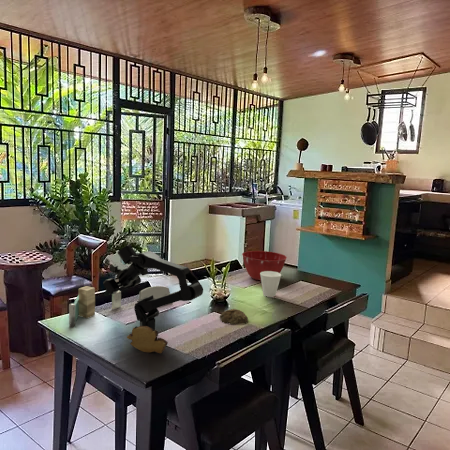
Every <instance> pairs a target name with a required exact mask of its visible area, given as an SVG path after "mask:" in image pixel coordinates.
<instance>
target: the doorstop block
mask: <svg viewBox="0 0 450 450" xmlns="http://www.w3.org/2000/svg"><path fill="white" fill-rule="evenodd" d="M78 295H79V316H78V317H80V318H85V319H89V318H91V317H93V316H95V315H96V288H95V287H93V286H89V285H86V286H83V287H80V288H78Z"/></svg>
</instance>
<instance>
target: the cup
mask: <svg viewBox="0 0 450 450" xmlns="http://www.w3.org/2000/svg"><path fill="white" fill-rule="evenodd" d="M260 276H261V281H260V282H261V289H262V294H263V297H266V296H267V298H274V297H273V296H275V297H276V294H277V291H278V288H279V284H280V281H281V277H282V274H281V272H280V273H278V272H273V271H264V272H261V273H260Z"/></svg>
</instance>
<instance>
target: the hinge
mask: <svg viewBox="0 0 450 450" xmlns="http://www.w3.org/2000/svg"><path fill="white" fill-rule="evenodd" d="M168 294H171V293H170V288H169V287H167V286H163V285H156V286H155V285H154V286H153V285H152V286H149V287H146V288H143V289H141V290H140V291H139V293H138V295H139V296H138V301H139V300H141V299H143V298H146V297H150V296H152V295H153V298H159V297H162V296H165V295H168ZM173 304H174V303H171V304H170V305H173Z"/></svg>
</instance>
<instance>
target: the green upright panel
mask: <svg viewBox="0 0 450 450" xmlns="http://www.w3.org/2000/svg"><path fill="white" fill-rule="evenodd" d="M73 303H74V304H75V323H76V321H77V320H78V318H79V317H80V316H79V294H78V295H77V297H76V298H75V300H74V302H73Z"/></svg>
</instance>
